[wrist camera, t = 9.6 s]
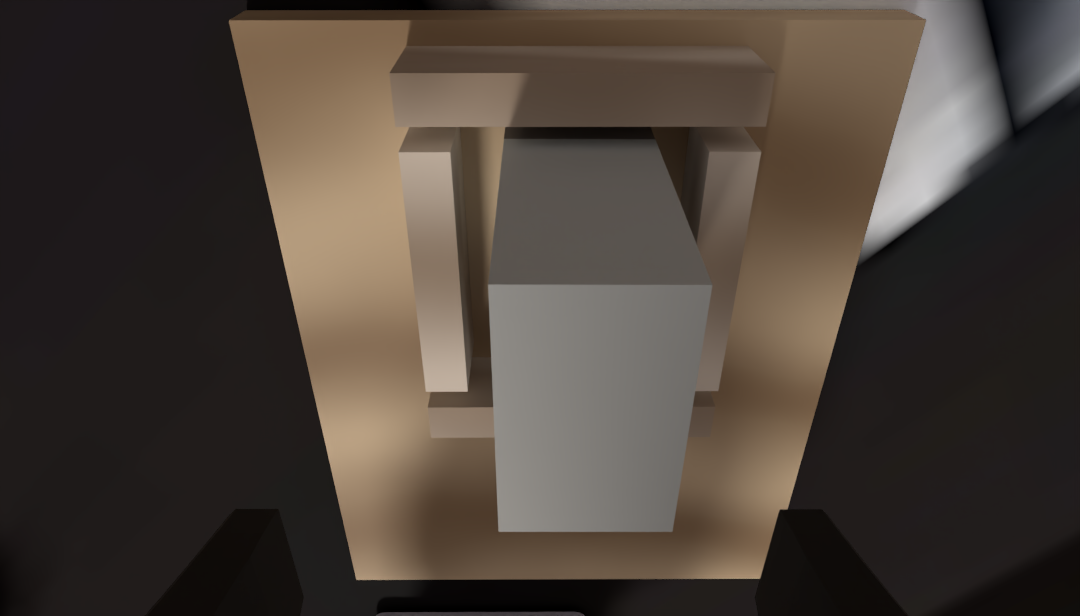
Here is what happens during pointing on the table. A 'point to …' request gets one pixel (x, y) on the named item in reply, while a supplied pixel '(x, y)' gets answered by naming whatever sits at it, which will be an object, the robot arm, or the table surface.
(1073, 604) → the table surface
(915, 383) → the table surface
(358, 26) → the birch board
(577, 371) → the peg
